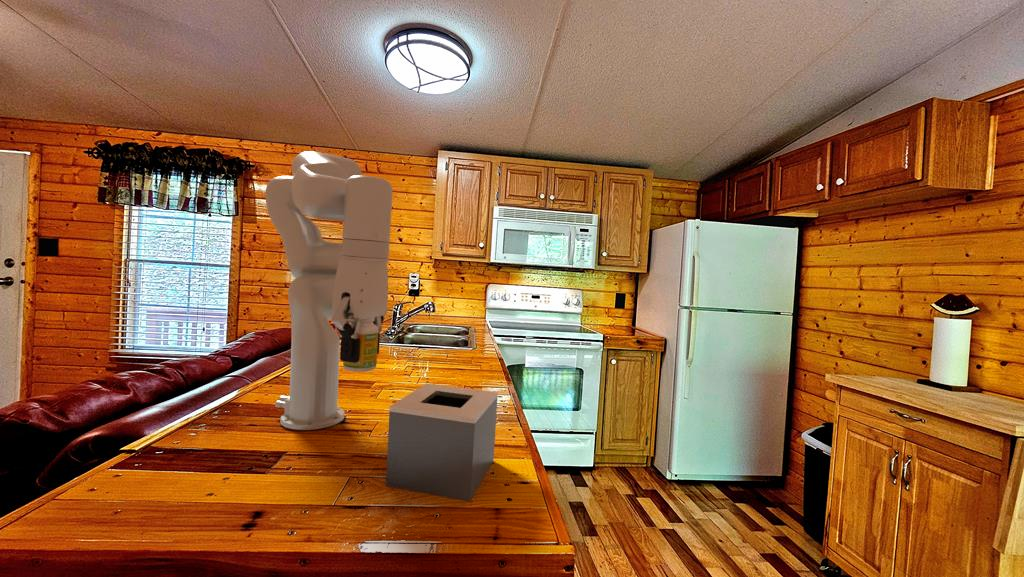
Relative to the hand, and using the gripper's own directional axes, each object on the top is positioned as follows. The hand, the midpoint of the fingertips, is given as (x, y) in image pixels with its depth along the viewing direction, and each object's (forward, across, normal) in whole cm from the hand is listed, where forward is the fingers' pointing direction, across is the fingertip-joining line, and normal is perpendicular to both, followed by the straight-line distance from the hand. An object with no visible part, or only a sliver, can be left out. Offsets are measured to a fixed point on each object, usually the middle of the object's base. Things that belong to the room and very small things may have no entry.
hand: (360, 356), depth 72 cm
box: (+19, -2, +16) cm, 24 cm away
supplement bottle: (+2, 0, 0) cm, 2 cm away
